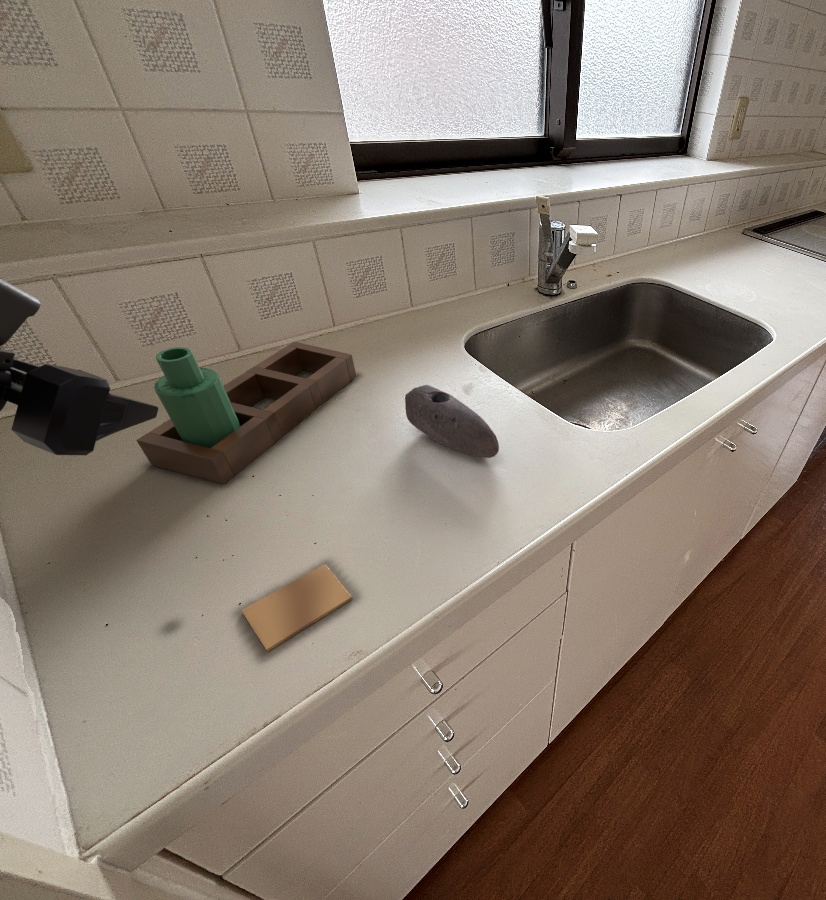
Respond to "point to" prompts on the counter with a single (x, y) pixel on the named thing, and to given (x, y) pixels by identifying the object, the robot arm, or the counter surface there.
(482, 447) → the perforated stone tool
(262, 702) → the counter surface
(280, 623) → the cork trivet
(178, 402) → the bottle
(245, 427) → the brown compartment tray
